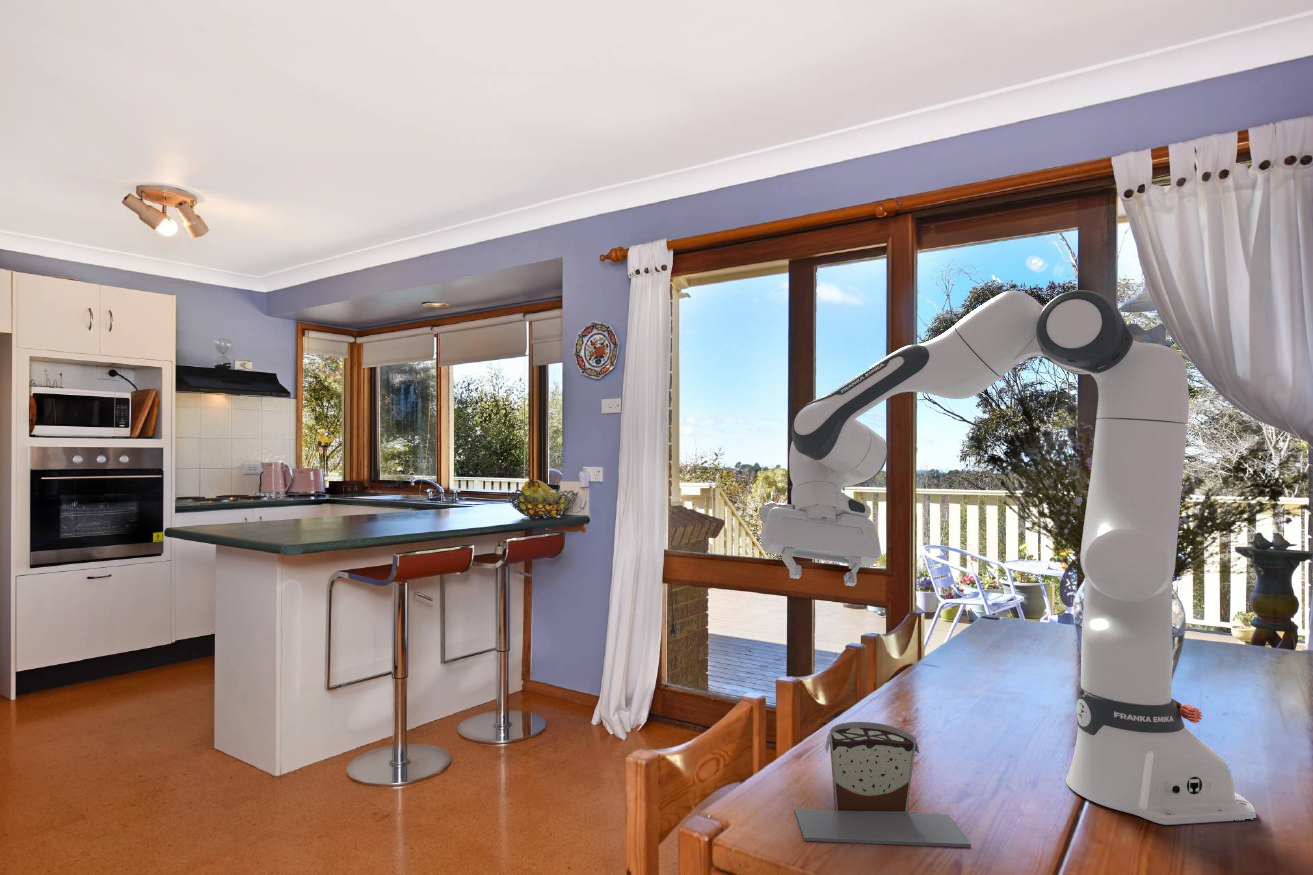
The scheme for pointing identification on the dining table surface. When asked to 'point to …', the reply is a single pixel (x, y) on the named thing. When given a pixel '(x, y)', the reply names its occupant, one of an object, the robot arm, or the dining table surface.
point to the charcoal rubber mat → (879, 828)
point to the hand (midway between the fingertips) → (823, 580)
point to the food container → (871, 766)
